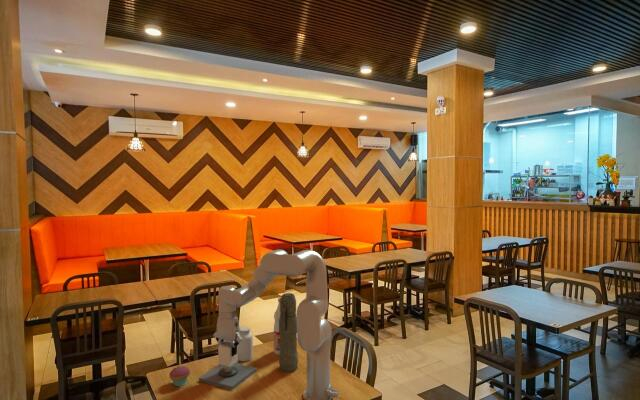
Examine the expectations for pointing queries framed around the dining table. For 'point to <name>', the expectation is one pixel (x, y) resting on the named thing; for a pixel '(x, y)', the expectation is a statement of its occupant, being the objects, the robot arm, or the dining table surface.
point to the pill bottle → (245, 345)
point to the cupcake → (179, 374)
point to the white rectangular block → (226, 354)
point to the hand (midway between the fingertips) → (228, 353)
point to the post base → (227, 376)
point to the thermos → (288, 333)
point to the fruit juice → (277, 330)
